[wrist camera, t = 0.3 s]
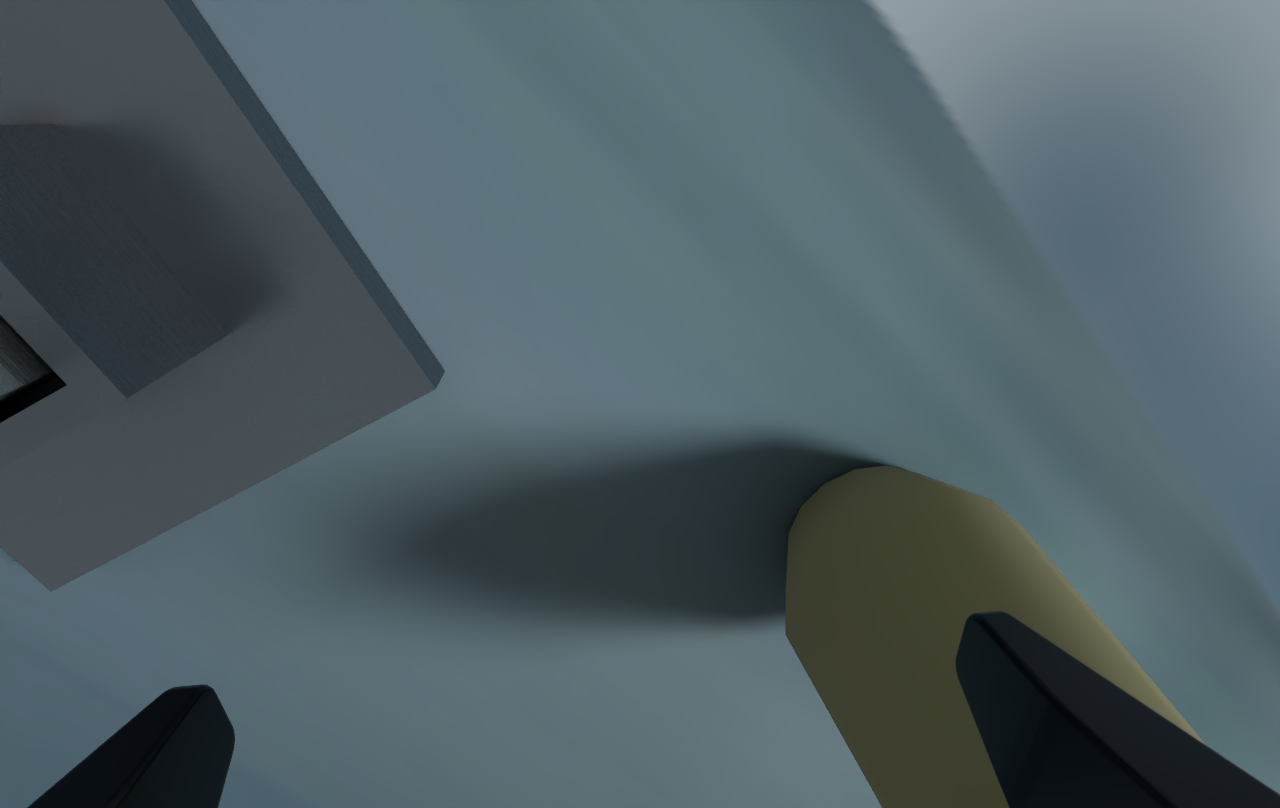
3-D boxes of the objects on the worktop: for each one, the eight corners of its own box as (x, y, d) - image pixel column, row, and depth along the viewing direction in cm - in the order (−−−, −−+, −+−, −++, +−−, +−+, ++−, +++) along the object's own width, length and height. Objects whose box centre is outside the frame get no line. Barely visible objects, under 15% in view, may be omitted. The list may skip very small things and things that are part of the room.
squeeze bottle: (713, 577, 25) (978, 1476, 8) (839, 395, 23) (1558, 1164, 6) (885, 649, 27) (1366, 1484, 11) (1017, 489, 25) (1915, 1253, 8)
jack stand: (444, 370, 21) (397, 461, 16) (82, 562, 23) (-77, 707, 17) (102, -130, 16) (-154, -262, 10) (-342, 165, 17) (-775, 189, 12)
